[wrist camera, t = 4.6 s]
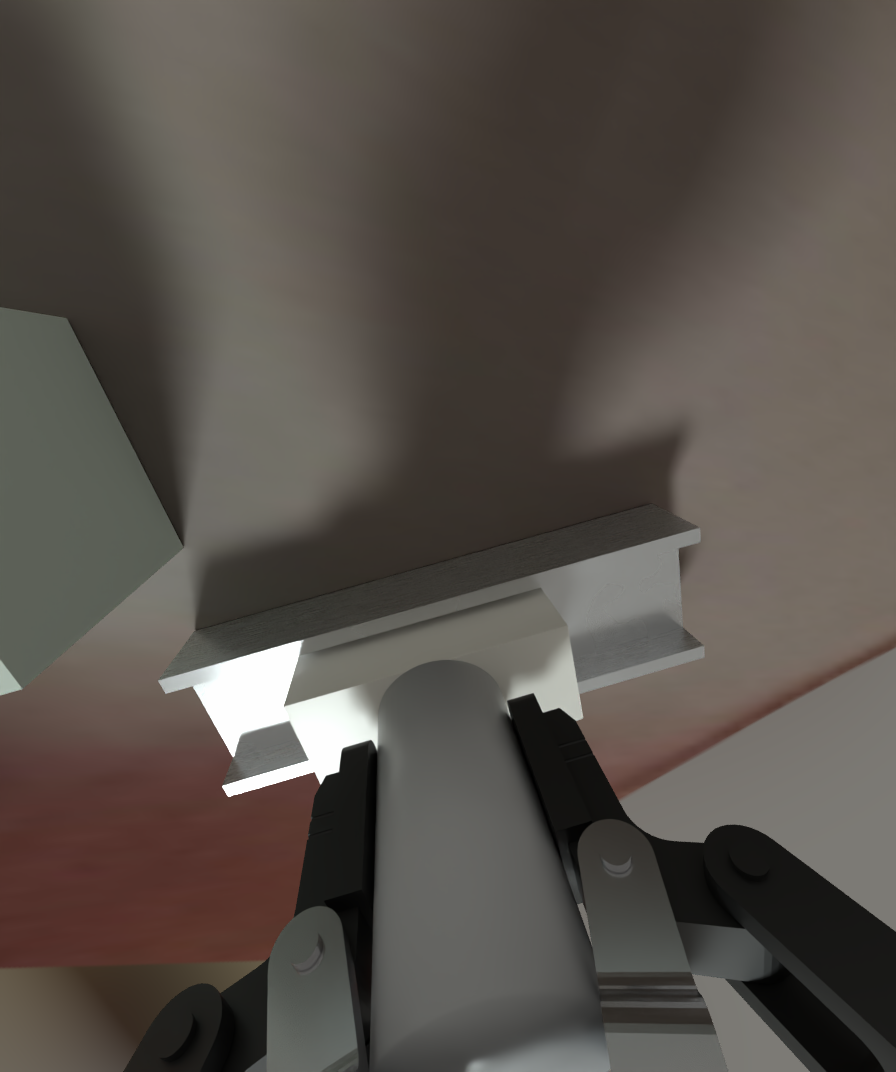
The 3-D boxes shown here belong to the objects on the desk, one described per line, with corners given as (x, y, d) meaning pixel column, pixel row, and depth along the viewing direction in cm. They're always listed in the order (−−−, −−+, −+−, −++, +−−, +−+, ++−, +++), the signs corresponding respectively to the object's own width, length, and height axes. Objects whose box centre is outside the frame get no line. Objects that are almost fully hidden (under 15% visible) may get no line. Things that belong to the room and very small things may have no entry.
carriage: (536, 579, 15) (772, 908, 6) (552, 666, 16) (765, 1046, 7) (299, 646, 14) (156, 1103, 5) (336, 728, 16) (269, 1206, 7)
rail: (651, 503, 16) (700, 527, 14) (660, 617, 18) (704, 657, 16) (194, 631, 16) (158, 680, 13) (250, 735, 18) (228, 796, 15)
